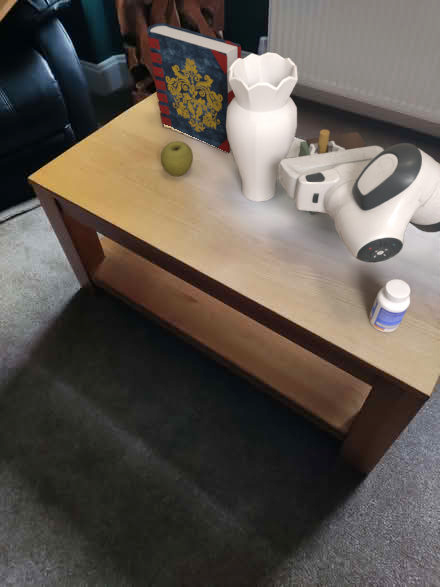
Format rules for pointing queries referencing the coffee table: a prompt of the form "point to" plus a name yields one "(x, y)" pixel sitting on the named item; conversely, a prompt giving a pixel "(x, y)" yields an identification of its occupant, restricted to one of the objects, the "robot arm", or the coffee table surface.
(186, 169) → the apple
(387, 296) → the pill bottle
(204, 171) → the coffee table surface
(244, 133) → the vase
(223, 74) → the book
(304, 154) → the cupboard door
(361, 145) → the cupboard
